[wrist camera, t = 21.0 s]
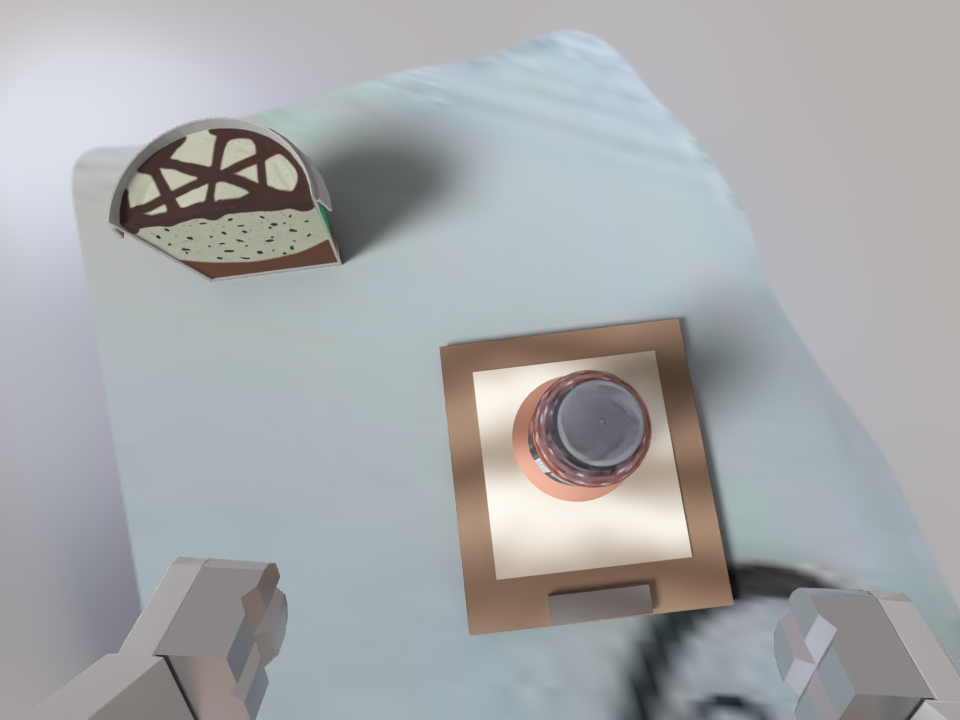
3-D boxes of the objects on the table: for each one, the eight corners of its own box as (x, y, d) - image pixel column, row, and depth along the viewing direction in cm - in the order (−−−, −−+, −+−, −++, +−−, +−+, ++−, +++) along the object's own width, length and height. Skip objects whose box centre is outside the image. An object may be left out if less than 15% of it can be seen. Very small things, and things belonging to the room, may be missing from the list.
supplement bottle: (549, 377, 39) (568, 334, 28) (635, 416, 38) (689, 388, 27) (511, 461, 38) (514, 452, 27) (598, 503, 37) (639, 511, 26)
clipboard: (728, 602, 37) (738, 606, 35) (470, 632, 37) (469, 638, 35) (675, 321, 41) (681, 315, 39) (440, 349, 41) (438, 344, 39)
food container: (356, 182, 44) (314, 94, 34) (363, 262, 42) (322, 193, 32) (188, 204, 44) (98, 122, 34) (190, 284, 42) (97, 223, 33)
